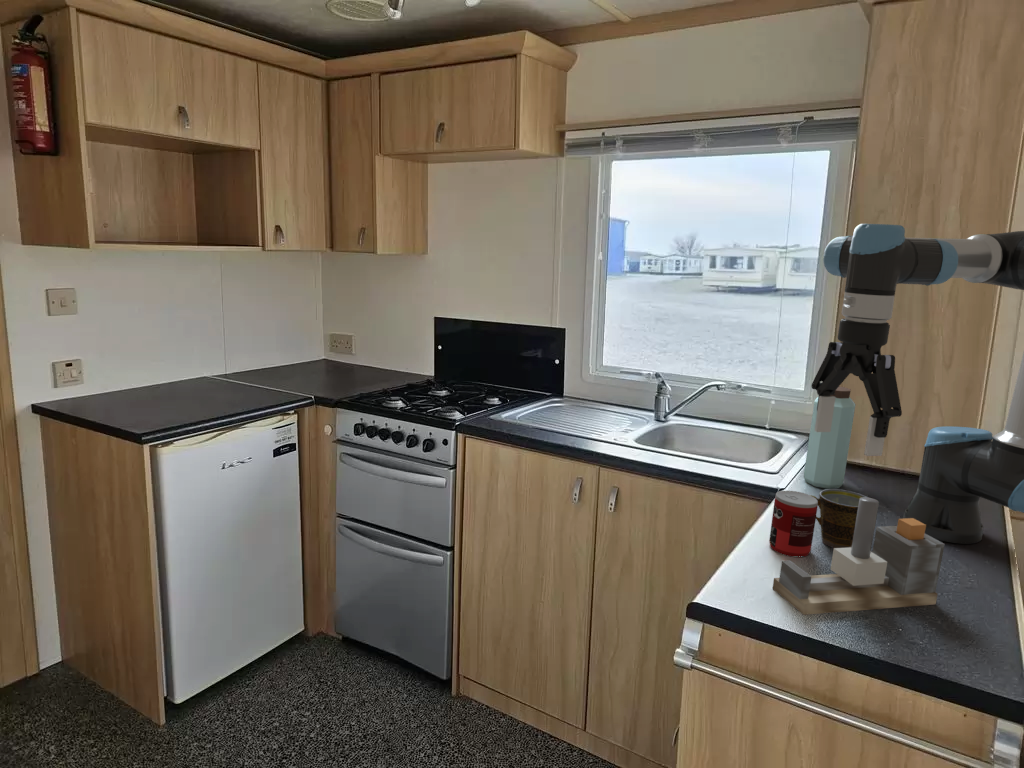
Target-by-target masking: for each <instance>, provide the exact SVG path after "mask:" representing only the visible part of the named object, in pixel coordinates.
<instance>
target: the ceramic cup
mask: <svg viewBox="0 0 1024 768" xmlns="http://www.w3.org/2000/svg"><path fill="white" fill-rule="evenodd" d="M818 494H819V498H818V497H816V495H812V494H811V495H810V494H809V495H810V496H812V497H814V498H816V499H817V501H818V508H819V509H820V510H819V512H820V513H819V514H820V517H818V516H816V520H817V522H818V524H819V526H820V533H821V535H820V537H821V542H822V544H825V545H826V546H828V547H830V548H832V547H833V548H832V549H834V548H848V547H852V542H853V536H854V529H855V523H856V517H857V511H858V505H859V499H860V498H861V497H867V496H866V495H863V494H861V493H858V492H855V491H851V490H845V489H840V488H834V489H826V488H825V489H822V490H821V491H819V493H818Z"/></svg>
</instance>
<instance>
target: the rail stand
mask: <svg viewBox="0 0 1024 768" xmlns="http://www.w3.org/2000/svg"><path fill="white" fill-rule="evenodd" d="M875 528H876V529H875V532H874V538H873V544H872V550H871V552H872V553H874V554H876V555H877V556H879V557H880V558H882V559H884V560H885V561H887V567H886V573H885V579H884V584H870V585H856V586H853V585H852V584H850V583H849V582H847V581H846V580H845V579H843V578H842V577H840V576H839V575H838V574H836V573H829V574H817V575H815V574H813V575H811V574H809V573H807V572H806V571H804V570H803V569H802V568H801V567H799V565H797V564H796V563H795V562H793V561H792V560H790V559H789V560H782V561H781V565H780V571H779V577H774V578H773V582H772V589H773V590H774V591H775V592H776V593H777V594H778V595H779V596H780V597H782V598H783V599H784V600H785V601H786V602H788V603H789V604H790V605H791V606H793V607H794V608H795V609H796V610H797V611H798V612H799V613H800V614H801V615H803V616H809V615H819V614H830V613H831V614H833V613H845V612H847V613H848V612H858V611H869V610H871V611H872V610H881V609H883V610H884V609H892V608H893V609H895V608H907V607H920V606H921V607H922V606H929V605H931V606H932V605H936V604H937V600H938V599H937V598H938V593H937V592H936V591H937V587H938V586H937V585H938V582H939V581H938V580H939V575H940V572H941V571H940V570H941V566H942V561H943V555H944V550H945V546H946V545H945V543H943V541H941V540H937V539H934V538H933V537H931V536H929V535H927V534H924V539H919V540H908V539H906V538H904V537H902V536H901V535H899V534H897V533H896V531H897V525H885V526H875Z"/></svg>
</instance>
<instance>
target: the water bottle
mask: <svg viewBox="0 0 1024 768" xmlns="http://www.w3.org/2000/svg"><path fill="white" fill-rule="evenodd" d="M851 391H852V389H851V388H848V387H845V386H841V385H840V386H839V387H838V388H837V389H836V390H835V393H833V394H836V395H830V396H834V397H836V398H835V405H834V411H833V418H832V425H831V432H816V431H815V424H816V417H817V404H818V397H819V396H817V397H816V398H815V399H814V401H813V402H814V403H813V411H812V416H811V421H810V422H811V423H810V430H809V437H808V444H807V449H806V450H807V451H806V457H805V464H804V470H803V480H804V481H805V482H806V483H807V484H810V485H811V486H813V487H817V488H822V489H825V490H826V489H840V487H842V486H843V484H844V481H845V474H846V467H847V462H848V455H849V449H850V442H851V435H852V431H853V430H852V429H853V423H854V417H855V411H856V403H855V402H854V399H852V398H851V397H850V396H851Z"/></svg>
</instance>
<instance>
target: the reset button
mask: <svg viewBox="0 0 1024 768" xmlns="http://www.w3.org/2000/svg"><path fill="white" fill-rule="evenodd" d="M897 520H898V521H897V525H896V526H897V531H896V533H897V534H899V535H901V536H902V537H904V538H906V539H908V540H919V539H924V534H925V528H926V525H925V524H923V523H921V522H920V521H918V520H916V519H914V518H905V519H903V518H898V519H897Z"/></svg>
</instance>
